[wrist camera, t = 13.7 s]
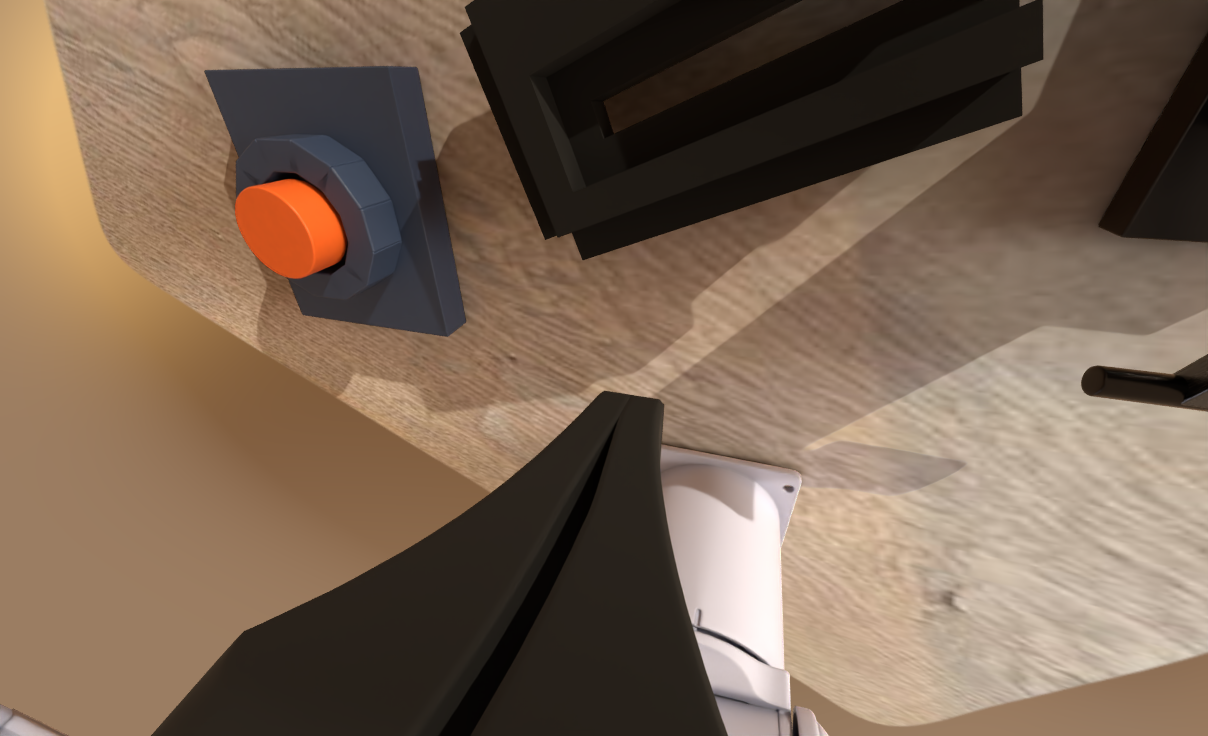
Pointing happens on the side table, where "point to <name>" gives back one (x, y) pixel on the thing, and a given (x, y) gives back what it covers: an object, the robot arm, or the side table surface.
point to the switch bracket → (1170, 169)
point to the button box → (354, 185)
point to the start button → (291, 227)
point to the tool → (730, 102)
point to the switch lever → (1151, 385)
